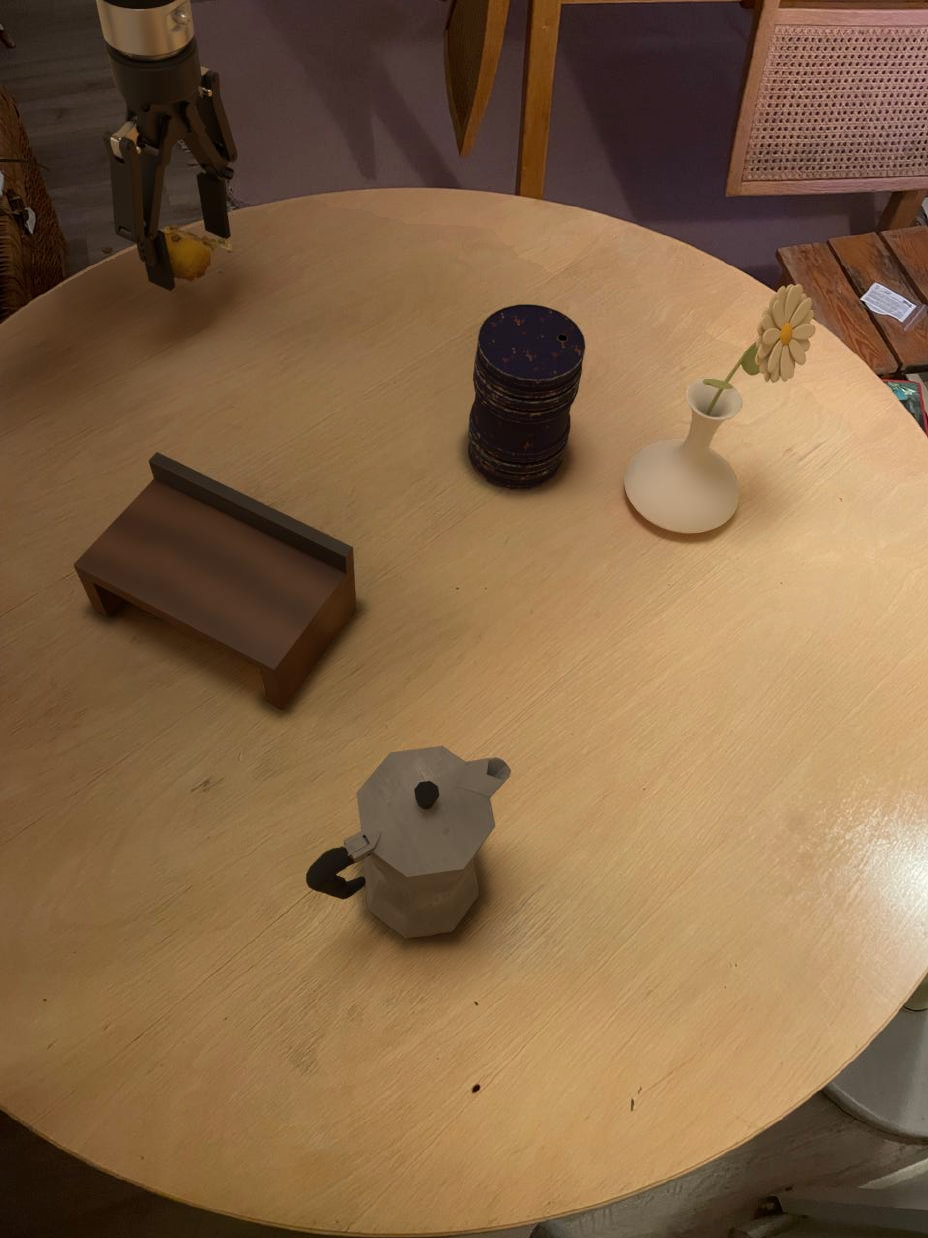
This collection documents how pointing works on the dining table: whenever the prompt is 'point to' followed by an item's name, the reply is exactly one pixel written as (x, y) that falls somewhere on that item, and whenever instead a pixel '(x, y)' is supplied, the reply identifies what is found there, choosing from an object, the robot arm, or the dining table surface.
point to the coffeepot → (417, 839)
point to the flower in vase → (689, 469)
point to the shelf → (225, 573)
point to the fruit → (191, 252)
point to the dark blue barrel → (523, 395)
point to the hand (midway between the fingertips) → (190, 257)
